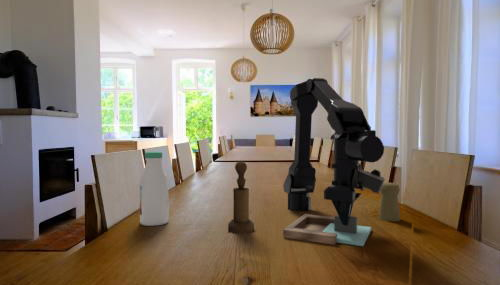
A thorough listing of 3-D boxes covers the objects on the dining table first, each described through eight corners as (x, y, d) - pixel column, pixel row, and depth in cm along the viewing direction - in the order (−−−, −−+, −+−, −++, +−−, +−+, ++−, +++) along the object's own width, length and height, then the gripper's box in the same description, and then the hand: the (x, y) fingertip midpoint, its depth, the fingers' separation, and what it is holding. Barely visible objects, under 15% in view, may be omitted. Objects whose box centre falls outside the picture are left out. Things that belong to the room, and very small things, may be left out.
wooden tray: (283, 240, 79) (283, 229, 79) (304, 223, 94) (304, 213, 94) (334, 248, 74) (334, 236, 73) (348, 228, 89) (348, 218, 89)
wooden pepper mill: (257, 229, 88) (257, 161, 87) (249, 237, 81) (249, 163, 81) (233, 227, 90) (233, 160, 89) (224, 234, 84) (223, 162, 83)
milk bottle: (174, 221, 96) (173, 151, 96) (156, 227, 89) (155, 152, 89) (153, 218, 100) (152, 150, 99) (133, 224, 93) (133, 152, 92)
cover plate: (317, 239, 77) (317, 220, 77) (331, 225, 89) (331, 208, 89) (363, 246, 72) (363, 226, 72) (371, 230, 84) (371, 212, 84)
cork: (403, 224, 92) (403, 185, 92) (379, 223, 94) (380, 184, 93) (398, 219, 98) (398, 181, 98) (376, 218, 99) (376, 181, 99)
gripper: (377, 163, 68) (377, 239, 69) (385, 157, 85) (385, 219, 85) (323, 161, 73) (323, 232, 74) (341, 156, 90) (340, 214, 90)
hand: (345, 224), depth 81 cm, fingers closed on cover plate, 2 cm apart
